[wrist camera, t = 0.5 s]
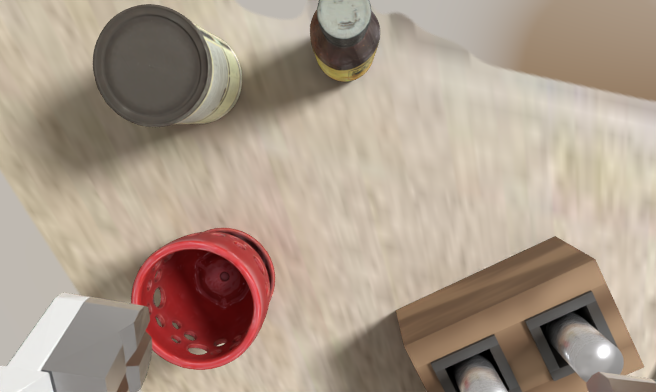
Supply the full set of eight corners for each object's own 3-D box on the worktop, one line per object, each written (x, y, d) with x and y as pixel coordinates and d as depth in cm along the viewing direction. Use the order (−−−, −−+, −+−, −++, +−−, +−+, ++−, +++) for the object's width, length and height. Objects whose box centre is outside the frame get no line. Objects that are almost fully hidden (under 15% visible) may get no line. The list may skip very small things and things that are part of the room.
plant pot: (267, 208, 61) (247, 230, 49) (289, 316, 63) (274, 361, 51) (159, 227, 62) (113, 253, 50) (183, 333, 64) (144, 381, 52)
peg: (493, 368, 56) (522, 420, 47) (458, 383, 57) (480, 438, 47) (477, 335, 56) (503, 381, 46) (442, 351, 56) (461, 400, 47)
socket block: (597, 327, 61) (646, 368, 51) (439, 396, 64) (456, 450, 53) (555, 236, 60) (597, 260, 50) (395, 310, 62) (404, 348, 52)
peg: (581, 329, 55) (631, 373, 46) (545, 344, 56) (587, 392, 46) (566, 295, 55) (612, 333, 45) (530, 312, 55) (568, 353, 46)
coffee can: (161, 130, 61) (104, 134, 47) (145, 38, 59) (81, 13, 45) (250, 118, 60) (219, 118, 46) (235, 24, 58) (199, -5, 45)
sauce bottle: (361, 91, 59) (365, 76, 39) (308, 70, 59) (286, 45, 39) (383, 34, 58) (399, -10, 38) (330, 12, 58) (318, -42, 38)
